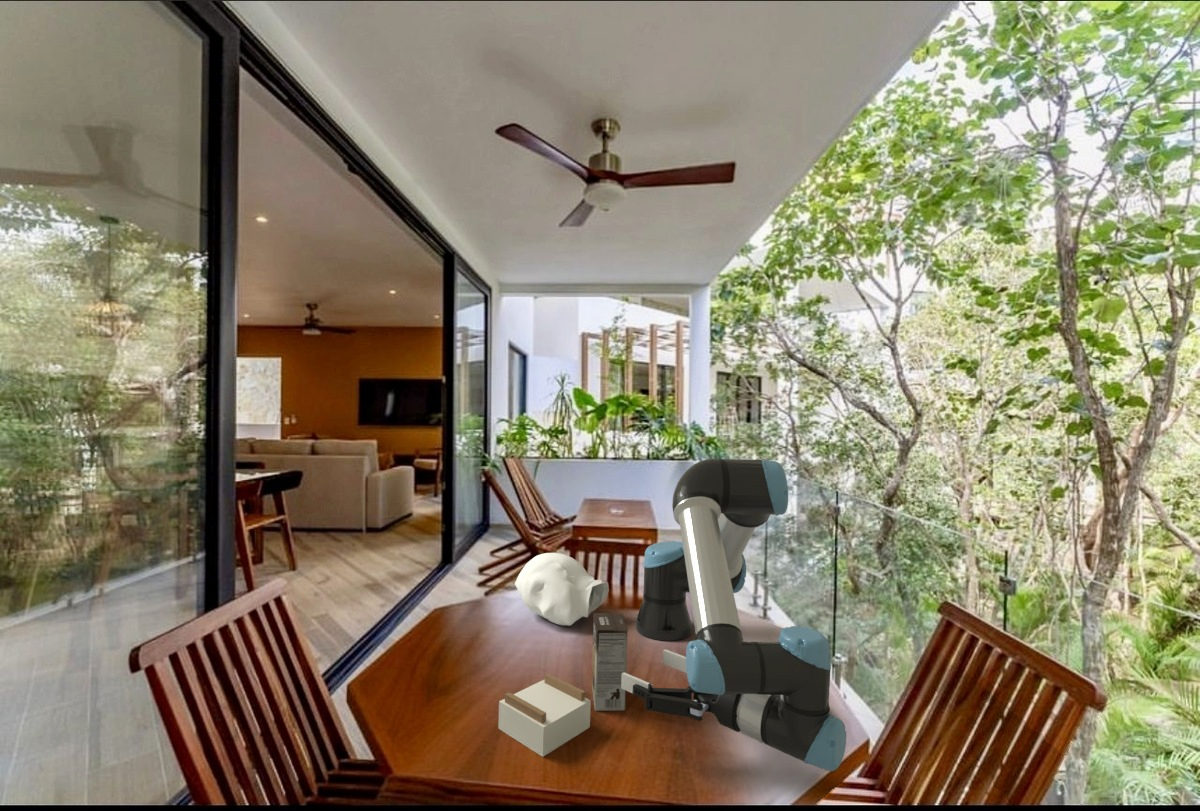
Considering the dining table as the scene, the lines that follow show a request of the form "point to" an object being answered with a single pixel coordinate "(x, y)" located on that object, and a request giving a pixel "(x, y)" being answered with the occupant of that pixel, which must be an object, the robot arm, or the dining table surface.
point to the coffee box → (609, 661)
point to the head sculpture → (559, 588)
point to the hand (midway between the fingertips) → (643, 667)
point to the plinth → (545, 714)
